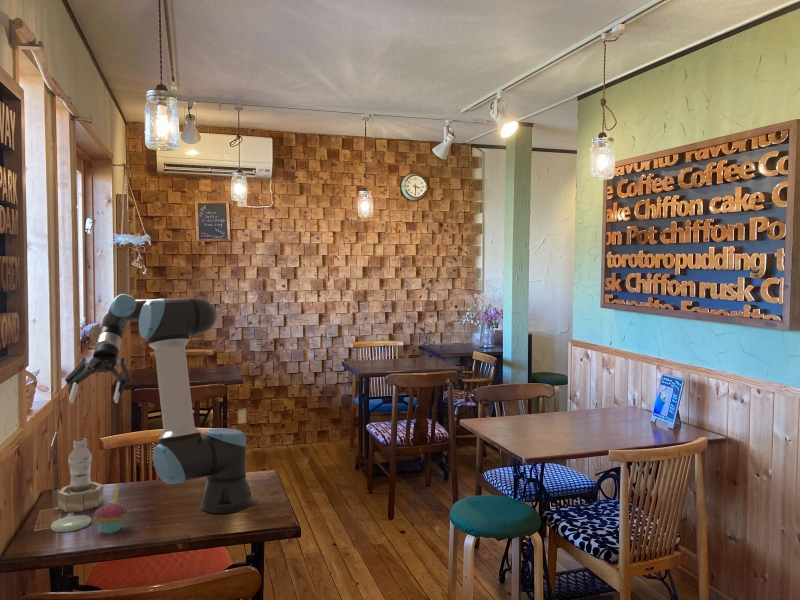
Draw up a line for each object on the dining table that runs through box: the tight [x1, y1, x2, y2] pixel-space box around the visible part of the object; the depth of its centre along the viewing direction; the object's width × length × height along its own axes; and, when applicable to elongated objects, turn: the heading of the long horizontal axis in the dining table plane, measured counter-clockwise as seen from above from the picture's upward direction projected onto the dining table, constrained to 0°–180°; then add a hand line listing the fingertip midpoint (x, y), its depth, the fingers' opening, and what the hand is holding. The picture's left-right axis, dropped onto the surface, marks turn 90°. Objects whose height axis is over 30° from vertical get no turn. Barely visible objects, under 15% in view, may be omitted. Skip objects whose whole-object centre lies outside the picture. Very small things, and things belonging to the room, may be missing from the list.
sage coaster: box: [50, 514, 92, 533], centre depth 174 cm, size 10×10×1 cm
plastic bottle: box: [67, 438, 93, 494], centre depth 189 cm, size 6×7×20 cm
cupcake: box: [92, 485, 129, 534], centre depth 170 cm, size 9×8×12 cm
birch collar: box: [57, 481, 104, 513], centre depth 189 cm, size 11×11×5 cm
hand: (93, 401), depth 200 cm, fingers open, 13 cm apart
